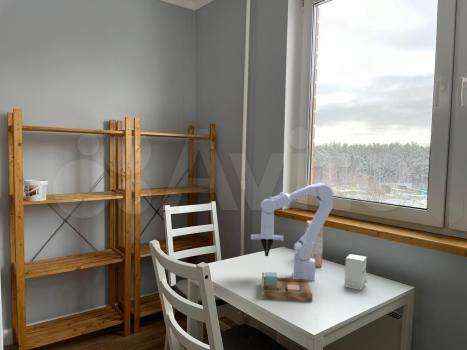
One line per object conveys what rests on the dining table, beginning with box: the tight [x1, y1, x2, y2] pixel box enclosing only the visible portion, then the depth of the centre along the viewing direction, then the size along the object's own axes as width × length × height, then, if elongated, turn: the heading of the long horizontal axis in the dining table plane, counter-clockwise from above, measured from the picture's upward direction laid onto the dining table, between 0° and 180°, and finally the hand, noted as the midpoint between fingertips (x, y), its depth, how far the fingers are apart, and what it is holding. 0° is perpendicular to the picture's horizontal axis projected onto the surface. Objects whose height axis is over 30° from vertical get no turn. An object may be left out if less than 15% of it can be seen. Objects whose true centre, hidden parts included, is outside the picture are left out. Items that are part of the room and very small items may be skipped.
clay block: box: [287, 285, 300, 292], centre depth 139 cm, size 4×4×4 cm
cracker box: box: [305, 220, 324, 268], centre depth 180 cm, size 14×6×21 cm, turn 179°
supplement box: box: [343, 253, 367, 291], centre depth 150 cm, size 7×7×13 cm
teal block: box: [264, 271, 278, 286], centre depth 146 cm, size 5×5×4 cm
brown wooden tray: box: [260, 272, 314, 303], centre depth 143 cm, size 20×15×5 cm
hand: (266, 255), depth 159 cm, fingers closed
